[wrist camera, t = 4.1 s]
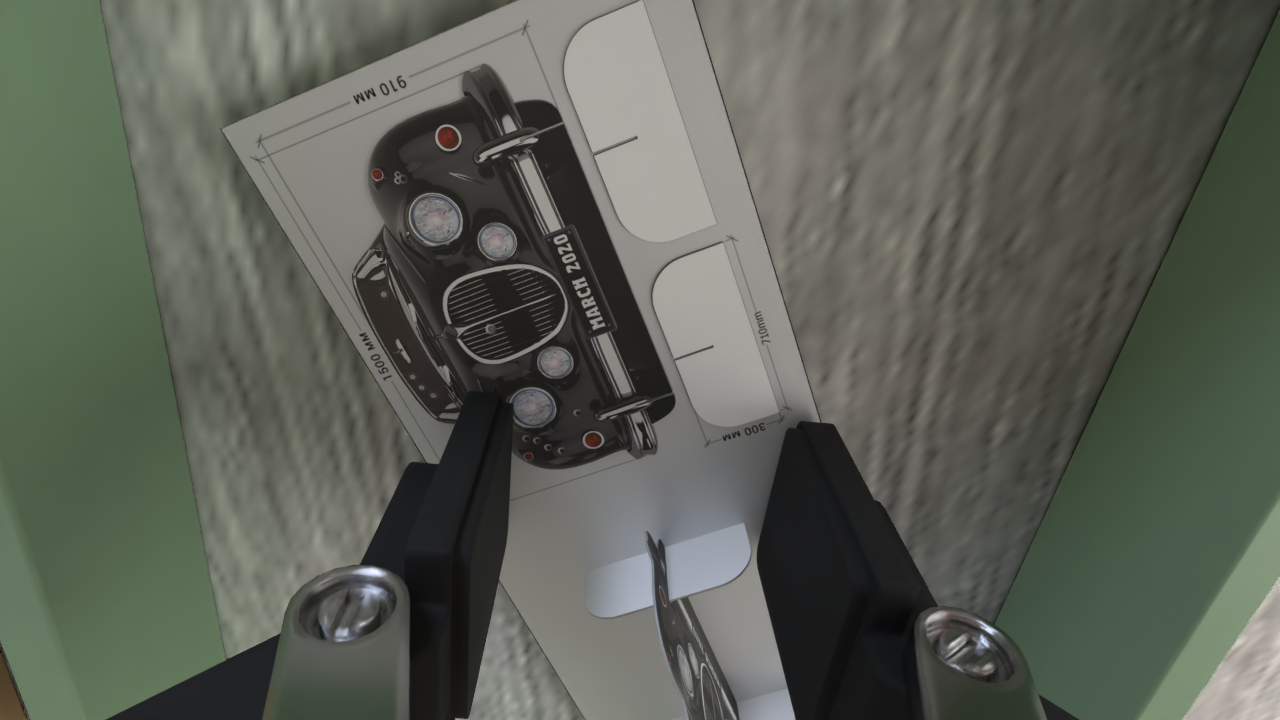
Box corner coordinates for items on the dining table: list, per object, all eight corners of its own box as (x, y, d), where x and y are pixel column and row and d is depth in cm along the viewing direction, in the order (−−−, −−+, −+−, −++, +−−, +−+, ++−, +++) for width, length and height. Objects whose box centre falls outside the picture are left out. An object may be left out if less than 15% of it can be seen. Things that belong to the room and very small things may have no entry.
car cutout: (896, 677, 15) (994, 909, 11) (616, 752, 16) (615, 993, 12) (670, -64, 9) (709, -131, 5) (235, 123, 10) (-25, 193, 6)
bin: (-34, -337, 8) (-472, -577, 5) (1390, -106, 9) (1791, -171, 6) (214, 775, 16) (117, 955, 13) (937, 810, 18) (1007, 982, 14)
